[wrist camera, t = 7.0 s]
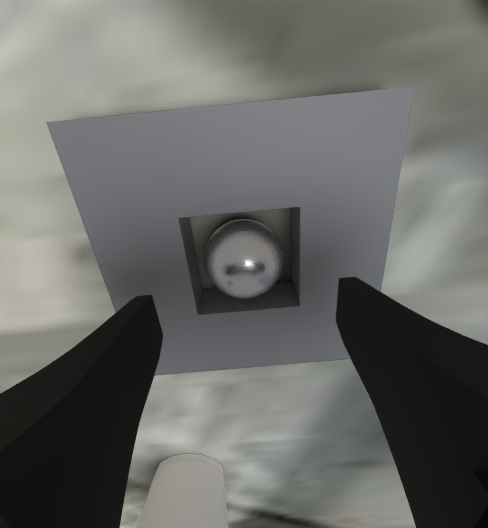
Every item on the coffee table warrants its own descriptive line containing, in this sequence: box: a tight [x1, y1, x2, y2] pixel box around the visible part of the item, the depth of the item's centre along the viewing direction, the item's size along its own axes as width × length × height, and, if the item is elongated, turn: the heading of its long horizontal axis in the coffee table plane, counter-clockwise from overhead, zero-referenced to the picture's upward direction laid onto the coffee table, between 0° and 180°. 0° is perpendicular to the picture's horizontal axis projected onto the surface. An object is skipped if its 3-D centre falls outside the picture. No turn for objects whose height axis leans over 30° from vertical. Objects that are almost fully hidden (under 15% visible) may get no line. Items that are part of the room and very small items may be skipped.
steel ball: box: [204, 219, 284, 299], centre depth 15 cm, size 4×4×4 cm
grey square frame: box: [46, 87, 414, 376], centre depth 15 cm, size 14×14×2 cm
